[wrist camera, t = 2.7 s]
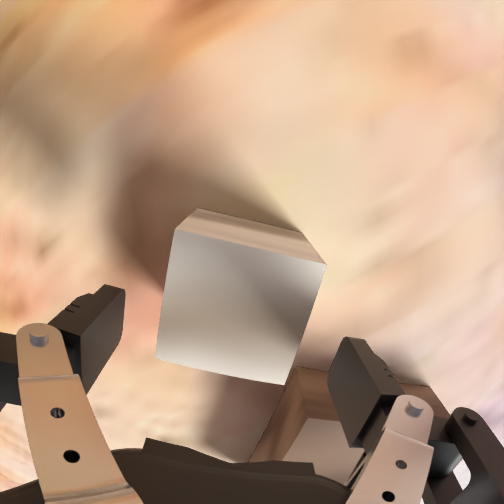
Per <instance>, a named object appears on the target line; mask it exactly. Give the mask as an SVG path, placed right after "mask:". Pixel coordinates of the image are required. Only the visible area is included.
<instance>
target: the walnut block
mask: <svg viewBox="0 0 504 504" xmlns="http://www.w3.org/2000/svg"><path fill="white" fill-rule="evenodd" d="M328 373H329V372H324V371H319V370H314V369H309V368H304V367H299V366H296V368H295V370H294V372H293V374H292V376H291V379H290V381H289V383H288V385H287V387H286V389H285V391H284V393H283V395H282V397H281V400H280V402H279V404H278V406H277V408H276V410H275V412H274V414H273V416H272V418H271V420H270V422H269V424H268V426H267V428H266V429H265V431H264V433H263V435H262V437H261V439H260V441H259V443H258V445H257V447H256V449H255V450H254V452H253V454H252V456H251V458H250V460H249V461H248V463H250V462H261V461H271V460H278V461H291V462H311V463H313V465H314V470H315V474H317V475H321V476H324V477H327V478H330V479H332V480H335V481H337V482H339V483H341V484H344V483H345V481H346V480H347V478H348V476H349V475H350V473H351V471H352V470H353V468H354V466H355V465H356V463H357V461H358V459H359V458H360V456H361V455H362V453H363V452H364V448H349V445H348V442H347V439H346V436H345V434H344V431H343V428H342V425H341V422H340V420H339V417H338V414H337V411H336V408H335V406H334V403H333V400H332V397H331V395H330V392H329V389H328V386H327V378H328ZM399 385H400V386H401V388H402V390H403V391H404V393H405V394H406V395H412V396H416V397H418V398H420V399H422V400H424V401H425V402H426V403H428V404H429V405H430V407H431V408H432V410H433V413H434V416H437V417H442V418H447V419H449V417H450V414H449V413H448V411H447V410H446V409H445V407H444V406H443V404H442V403H441V401H440V400H439V399H438V397H437V396H436V395H435V393H434V392H433V390H432V389H431V388H430V387H428V386H419V385H410V384H402V383H399Z"/></svg>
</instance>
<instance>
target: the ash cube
mask: <svg viewBox="0 0 504 504" xmlns="http://www.w3.org/2000/svg"><path fill="white" fill-rule="evenodd" d="M326 265H327V264H326V263H325V262H324V260H323V259H322V258H321V256H320V255H319V254H318V253H317V251H316V250H315V249H314V247H313V246H312V245H311V243H310V242H309V241H308V240H307V238H306V237H305V236H304V235H303V233H301V232H297V231H293V230H289V229H285V228H280V227H276V226H272V225H268V224H264V223H260V222H256V221H252V220H247V219H243V218H239V217H235V216H231V215H226V214H222V213H218V212H213V211H209V210H205V209H200V208H197V209H196V210H195V211H194V212H193V213H191V214H190V215H189V216H188V217H187V218H186V219H185V220H184V221H183V222H182V223H181V224H179V225H178V226H177V227H176V228H175V230H174V235H173V241H172V246H171V252H170V258H169V263H168V269H167V275H166V281H165V288H164V294H163V301H162V308H161V315H160V322H159V329H158V337H157V345H156V353H155V358H156V359H159V360H163V361H167V362H171V363H175V364H179V365H183V366H187V367H192V368H196V369H200V370H205V371H209V372H214V373H219V374H224V375H229V376H234V377H239V378H244V379H250V380H255V381H261V382H267V383H273V384H280V385H285V382H286V379H287V377H288V374H289V372H290V369H291V366H292V364H293V361H294V358H295V356H296V353H297V350H298V348H299V345H300V342H301V339H302V337H303V334H304V331H305V328H306V325H307V322H308V320H309V317H310V314H311V311H312V308H313V305H314V302H315V299H316V296H317V293H318V290H319V287H320V284H321V281H322V278H323V275H324V272H325V269H326Z"/></svg>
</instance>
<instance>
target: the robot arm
mask: <svg viewBox="0 0 504 504" xmlns="http://www.w3.org/2000/svg"><path fill="white" fill-rule="evenodd" d="M124 307H125V290H124V289H121V288H117V287H114V286H110V285H106V284H104V285H103V286H102V287H101V288H100V289H99V290H98V291H97V292H96V293H94V294H90V293H88V294H85V295H82V296H80V297H77V298H76V299H75V300H74V301H73V302H72V303H71V304H70V305H68V306H67V307H66V308H65V310H62V311H61V312H60V313H59V314H58V315H57V316H56V317H55V318H53V319H52V320H51V321H50V322H49V323H48V324H43V323H33V324H28V325H25V326H23V327H22V328H20V329H19V330H18V332H17V334H16V335H13V334H7V333H2V332H0V412H1V410H2V409H3V407H4V406H5V405H6V403H10V404H15V405H20V406H22V411H23V416H24V422H25V427H26V432H27V437H28V442H29V446H30V450H31V454H32V458H33V462H34V466H35V470H36V473H37V477H38V479H37V480H34V481H32V482H29V483H26V484H23V485H20V486H18V487H15V488H12V489H9V490H6V491H3V492H0V504H420V501H421V497H422V498H423V501H424V504H504V447H503V446H502V445H501V443H500V442H499V440H498V439H497V438H496V436H495V435H494V433H493V432H492V431H491V429H490V428H489V426H488V425H487V424H486V422H485V421H484V420H483V418H482V417H481V416H480V415H479V414H477V413H476V412H475V411H473V410H471V409H468V408H464V407H459V408H456V409H455V410H454V411H453V413H452V414H451V416H450V417H449V419H447V418H442V417H437V416H434V413H433V410H432V408H431V407H430V405H429V404H428V403H426V402H425V401H424V400H422V399H420V398H418V397H416V396H412V395H406V394H405V393H404V391H403V390H402V388H401V386H400V385H399V383H398V382H397V380H396V379H395V377H393V374H392V373H391V371H389V368H388V367H387V365H386V364H385V362H384V361H383V360H382V359H380V358H379V357H378V356H377V355H376V354H374V353H373V351H372V350H371V348H370V347H369V345H368V344H367V342H366V341H365V340H364V339H358V338H351V337H344V338H343V340H342V341H341V343H340V346H339V348H338V351H337V353H336V356H335V358H334V361H333V363H332V365H331V368H330V370H329V373H328V378H327V386H328V389H329V392H330V395H331V397H332V400H333V403H334V406H335V408H336V411H337V414H338V417H339V420H340V422H341V425H342V428H343V431H344V434H345V436H346V439H347V442H348V445H349V448H364V452H363V453H362V455H361V456H360V458H359V459H358V461H357V463H356V465H355V466H354V468H353V470H352V471H351V473H350V475H349V476H348V478H347V480H346V481H345V483H344V484H341V483H339V482H337V481H335V480H332V479H330V478H327V477H324V476H321V475H317V474H315V470H314V465H313V463H311V462H291V461H278V460H271V461H261V462H250V463H228V462H225V461H222V460H220V459H217V458H214V457H211V456H209V455H206V454H203V453H201V452H198V451H196V450H193V449H191V448H188V447H183V446H179V445H174V444H170V443H166V442H162V441H158V440H154V439H150V438H146V440H145V443H144V446H143V449H139V448H125V449H116V450H111V451H110V449H109V447H108V445H107V443H106V441H105V439H104V436H103V434H102V432H101V430H100V427H99V425H98V423H97V420H96V418H95V416H94V413H93V411H92V408H91V406H90V403H89V401H88V398H87V396H86V395H87V393H88V392H89V390H90V388H91V387H92V385H93V384H94V382H95V380H96V379H97V377H98V376H99V374H100V372H101V371H102V369H103V368H104V366H105V364H106V363H107V361H108V360H109V358H110V357H111V355H112V353H113V352H114V350H115V349H116V347H117V346H118V344H119V342H120V339H121V335H122V330H123V319H124ZM462 458H463V460H464V461H465V463H466V465H467V466H468V468H469V470H470V473H471V479H470V482H469V484H468V486H467V487H466V488H465V489H464V490H462V488H461V486H460V484H459V482H458V480H457V479H456V477H455V475H454V473H453V469H454V468H455V467H456V466H457V465H458V463H459V462H460V461H461V460H462Z"/></svg>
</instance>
